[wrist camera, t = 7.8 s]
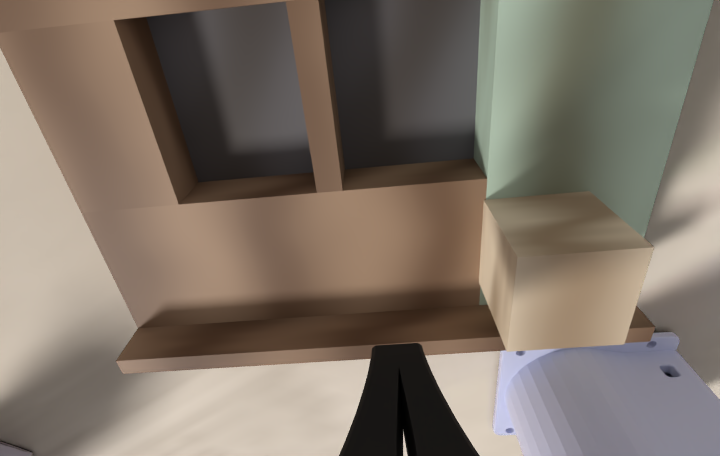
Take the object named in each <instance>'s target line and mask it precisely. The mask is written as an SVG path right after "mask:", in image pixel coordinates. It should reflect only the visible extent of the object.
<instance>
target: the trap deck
mask: <svg viewBox="0 0 720 456" xmlns="http://www.w3.org/2000/svg"><path fill="white" fill-rule="evenodd" d="M713 1H714V0H0V48H1V50H2V52H3V54H4V56H5V58H6V60H7V62H8V64H9V66H10V69H11V71H12V73H13V75H14V77H15V79H16V81H17V83H18V85H19V87H20V89H21V91H22V93H23V95H24V97H25V99H26V101H27V103H28V105H29V107H30V109H31V111H32V113H33V115H34V117H35V119H36V121H37V123H38V125H39V127H40V129H41V132H42V134H43V136H44V138H45V140H46V142H47V144H48V146H49V148H50V150H51V152H52V154H53V156H54V158H55V160H56V162H57V164H58V166H59V168H60V170H61V172H62V174H63V176H64V178H65V180H66V182H67V184H68V186H69V188H70V190H71V192H72V195H73V197H74V199H75V201H76V203H77V205H78V207H79V209H80V211H81V213H82V215H83V217H84V219H85V221H86V223H87V225H88V227H89V229H90V231H91V233H92V235H93V237H94V239H95V241H96V243H97V245H98V247H99V249H100V251H101V253H102V256H103V258H104V260H105V262H106V264H107V266H108V268H109V270H110V272H111V274H112V276H113V278H114V280H115V282H116V284H117V286H118V288H119V290H120V292H121V294H122V296H123V298H124V300H125V302H126V304H127V306H128V308H129V310H130V312H131V314H132V316H133V319H134V321H135V323H136V325H137V327H138V329H137V331H136V332H135V334H134V335H133V337H132V338H131V340H130V341H129V342H128V344H127V345H126V347H125V348H124V350H123V351H122V353H121V354H120V356H119V357H118V359H117V360H116V362H117V364H118V366H119V368H120V369H121V371H122V373H123V374H128V373H144V372H161V371H177V370H193V369H210V368H226V367H242V366H259V365H275V364H291V363H308V362H324V361H340V360H357V359H371V353H372V348H373V347H374V346H375V345H390V344H407V343H419V344H420V345H422V348H423V351H424V354H425V355H438V354H455V353H471V352H487V351H504V350H506V349H505V346H504V344H503V341H502V339H501V336H500V334H499V331H498V329H497V326H496V324H495V321H494V319H493V316H492V314H491V311H490V309H489V306H488V304H487V301H486V299H485V296H484V294H483V291H482V289H481V286H480V284H479V271H480V254H481V237H482V221H483V204H484V200H488V199H500V198H512V197H524V196H536V195H548V194H560V193H573V192H585V191H590V192H591V193H592V194H593V195H595V196H596V197H597V198H598V199H599V200H600V201H601V202H603V203H604V204H605V205H606V206H607V207H608V208H610V209H611V210H612V211H613V212H614V213H615V214H617V215H618V216H619V217H620V218H621V219H622V220H623V221H625V222H626V223H627V224H628V225H629V226H630V227H632V228H633V229H634V230H635V231H636V232H637V233H639V234H640V235H641V236H642V237H643V238H644V236H645V233H646V229H647V226H648V223H649V219H650V216H651V212H652V209H653V206H654V202H655V199H656V195H657V192H658V189H659V185H660V182H661V178H662V175H663V171H664V168H665V165H666V161H667V158H668V154H669V151H670V148H671V144H672V141H673V137H674V134H675V131H676V127H677V124H678V120H679V117H680V113H681V110H682V107H683V103H684V100H685V96H686V93H687V90H688V86H689V83H690V79H691V76H692V73H693V69H694V66H695V62H696V59H697V56H698V52H699V49H700V45H701V42H702V38H703V35H704V32H705V28H706V25H707V21H708V18H709V15H710V11H711V8H712V4H713ZM654 329H655V326H654V325H653V324H652V323H651V322H650V320H649V319H648V318H647V317H646V316H645V315H644V314H643V312H642V311H641V310H640V309H639V308H638V307H637V306H636V308H635V311H634V314H633V318H632V321H631V324H630V327H629V331H628V334H627V337H626V340H625V343H634V342H650V341H651V338H652V335H653V332H654Z"/></svg>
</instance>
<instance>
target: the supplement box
mask: <svg viewBox="0 0 720 456" xmlns="http://www.w3.org/2000/svg"><path fill="white" fill-rule="evenodd" d="M0 456H33V453H32V452H29V451H27V450H24V449H21V448H18V447H15V446H12V445H9V444H6V443H3V442H0Z"/></svg>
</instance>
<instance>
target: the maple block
mask: <svg viewBox="0 0 720 456" xmlns="http://www.w3.org/2000/svg"><path fill="white" fill-rule="evenodd" d="M653 250H654V246H652V245H651V244H650V243H649V242H648V241H647V240H645V239H644V238H643V237H642V236H641V235H640V234H639V233H637V232H636V231H635V230H634V229H633V228H632V227H630V226H629V225H628V224H627V223H626V222H625V221H623V220H622V219H621V218H620V217H619V216H618V215H617V214H615V213H614V212H613V211H612V210H611V209H610V208H608V207H607V206H606V205H605V204H604V203H603V202H601V201H600V200H599V199H598V198H597V197H596V196H595V195H593V194H592V193H591V192H590V191H585V192H573V193H560V194H548V195H536V196H524V197H512V198H500V199H488V200H484V204H483V221H482V237H481V254H480V271H479V284H480V286H481V289H482V291H483V294H484V296H485V299H486V301H487V304H488V306H489V309H490V311H491V314H492V316H493V319H494V321H495V324H496V326H497V329H498V331H499V334H500V336H501V339H502V341H503V344H504V346H505V349H506V351H507V352H511V351H527V350H543V349H559V348H575V347H592V346H608V345H624V343H625V340H626V337H627V334H628V331H629V327H630V324H631V321H632V318H633V314H634V311H635V308H636V305H637V302H638V298H639V295H640V292H641V289H642V286H643V282H644V279H645V276H646V273H647V269H648V266H649V263H650V260H651V257H652V253H653Z"/></svg>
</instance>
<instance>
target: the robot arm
mask: <svg viewBox="0 0 720 456" xmlns="http://www.w3.org/2000/svg"><path fill="white" fill-rule="evenodd" d="M679 342H680V339H679V337H678V336H677V335H676V334H675V333H673V332H660V333H653V335H652V338H651V341H650V342H634V343H624V345H608V346H592V347H575V348H559V349H543V350H527V351H511V352H507V351H506V350H504V351H500V360H499V369H498V379H497V388H496V398H495V407H494V417H493V430H494V433H495V434H497V435H516V436H517V439H518V441H519V444H520V447H521V450H522V453H523V456H720V399H719V398H718V397H717V396H716V395H715V394H714V393H713V391H712V390H711V389H710V388H709V387H708V386H707V385H706V383H705V382H704V381H703V380H702V379H701V378H700V377H699V376H698V374H697V373H696V372H695V371H694V370H693V369H692V368H691V366H690V365H689V364H688V363H687V362H686V361H685V360H684V359H683V357H682V356H681V355H680V354H679V353H678V352H677V351H676V350H677V347H678V345H679ZM403 431H404V437H405V443H406V448H407V454H408V456H479V454H478V453H477V451H476V450H475V448H474V447H473V445H472V444H471V442H470V441H469V439H468V437H467V436H466V434H465V433H464V431H463V429H462V428H461V426H460V425H459V423H458V421H457V419H456V418H455V416H454V414H453V413H452V411H451V409H450V407H449V405H448V403H447V402H446V400H445V398H444V396H443V394H442V392H441V390H440V389H439V387H438V385H437V382H436V380H435V378H434V376H433V374H432V372H431V369H430V367H429V365H428V362H427V360H426V357H425V354H424V351H423V348H422V345H420V344H419V343H407V344H390V345H375V346H374V347H373V348H372V353H371V361H370V366H369V371H368V375H367V379H366V383H365V387H364V390H363V393H362V396H361V399H360V402H359V406H358V409H357V412H356V415H355V417H354V420H353V423H352V425H351V428H350V430H349V433H348V435H347V438H346V441H345V443H344V445H343V448H342V450H341V452H340V455H339V456H403Z"/></svg>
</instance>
